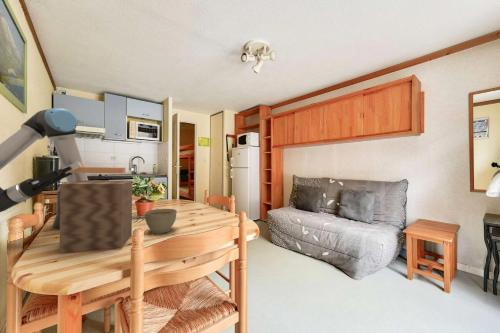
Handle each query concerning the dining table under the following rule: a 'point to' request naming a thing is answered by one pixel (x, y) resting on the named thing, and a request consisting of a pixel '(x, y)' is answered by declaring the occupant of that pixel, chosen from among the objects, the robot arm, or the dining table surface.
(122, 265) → the dining table surface
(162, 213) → the planter bowl
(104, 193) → the walnut stand
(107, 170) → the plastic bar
